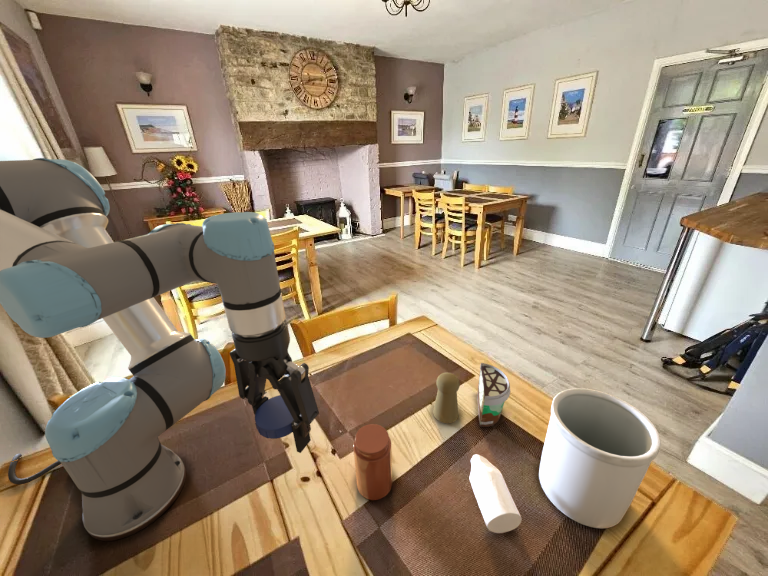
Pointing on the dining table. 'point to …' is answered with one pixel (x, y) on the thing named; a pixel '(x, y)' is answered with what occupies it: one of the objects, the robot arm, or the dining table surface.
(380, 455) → the jar
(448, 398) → the olive brown pawn
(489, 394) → the food container
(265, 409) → the lid
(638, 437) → the utensil holder
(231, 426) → the dining table surface
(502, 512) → the white dropper bottle
